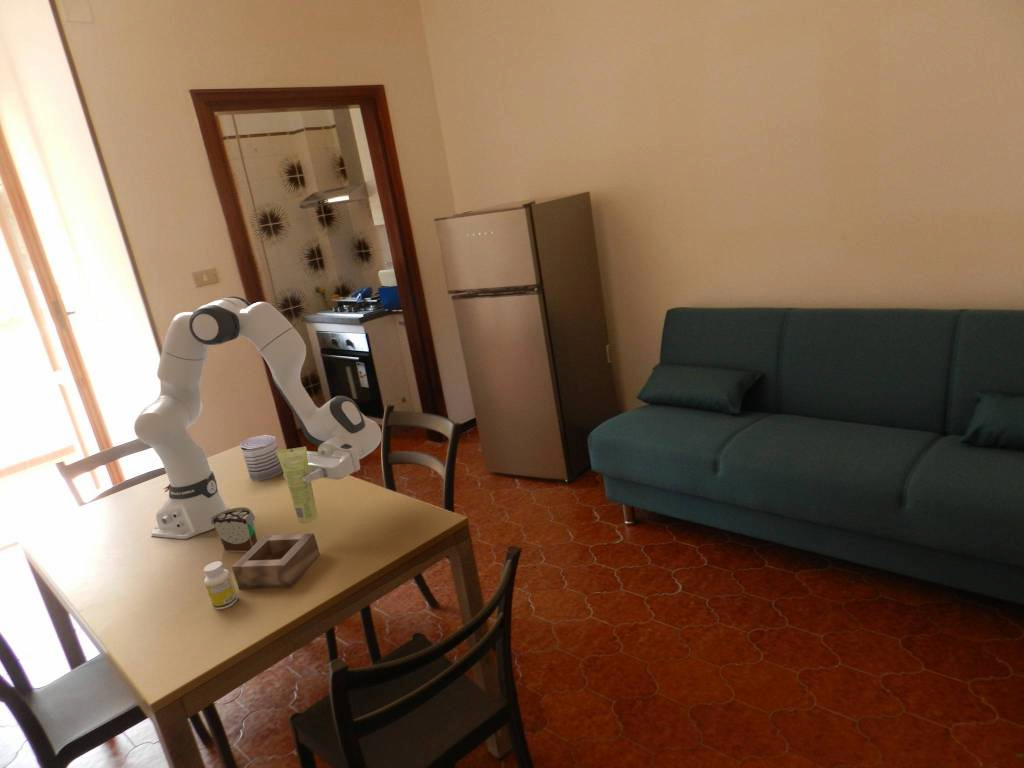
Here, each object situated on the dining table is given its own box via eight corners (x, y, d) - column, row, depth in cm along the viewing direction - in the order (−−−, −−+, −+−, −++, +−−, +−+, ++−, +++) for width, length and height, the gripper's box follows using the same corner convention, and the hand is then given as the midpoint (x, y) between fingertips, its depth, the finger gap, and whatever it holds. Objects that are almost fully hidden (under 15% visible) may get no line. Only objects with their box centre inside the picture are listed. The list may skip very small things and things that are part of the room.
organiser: (239, 589, 165) (231, 566, 163) (270, 556, 178) (264, 535, 176) (291, 587, 162) (284, 565, 160) (320, 554, 174) (314, 533, 173)
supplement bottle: (217, 598, 163) (204, 561, 160) (240, 594, 163) (228, 557, 160) (210, 612, 158) (196, 574, 155) (234, 607, 158) (221, 569, 155)
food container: (273, 539, 187) (262, 506, 184) (258, 552, 182) (247, 517, 179) (236, 539, 191) (225, 506, 189) (220, 551, 186) (209, 517, 183)
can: (265, 465, 243) (256, 433, 240) (291, 466, 238) (282, 433, 235) (242, 480, 233) (231, 447, 230) (268, 481, 229) (258, 447, 225)
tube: (314, 511, 183) (296, 442, 177) (324, 516, 179) (306, 446, 174) (294, 521, 179) (275, 451, 174) (304, 526, 176) (285, 454, 170)
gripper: (304, 442, 191) (263, 463, 180) (359, 447, 180) (320, 470, 169) (309, 463, 192) (270, 485, 181) (364, 469, 182) (326, 494, 171)
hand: (294, 478), depth 175 cm, fingers closed on tube, 5 cm apart
